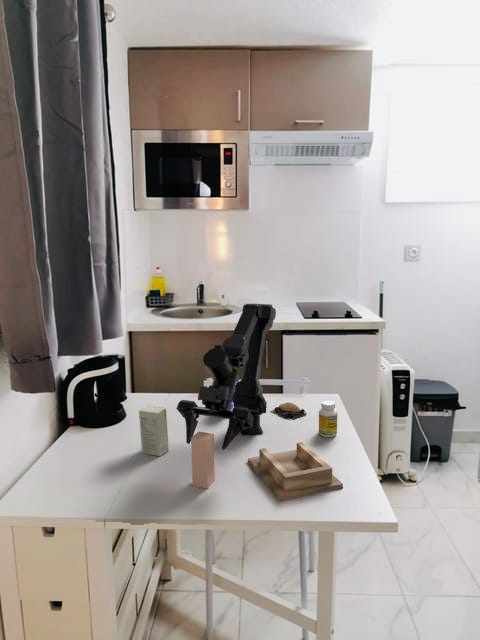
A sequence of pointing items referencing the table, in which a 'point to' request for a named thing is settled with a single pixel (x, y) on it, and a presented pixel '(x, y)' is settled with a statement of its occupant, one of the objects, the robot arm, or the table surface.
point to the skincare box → (153, 430)
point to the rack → (294, 472)
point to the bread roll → (289, 411)
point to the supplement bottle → (328, 419)
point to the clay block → (203, 459)
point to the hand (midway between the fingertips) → (205, 446)
